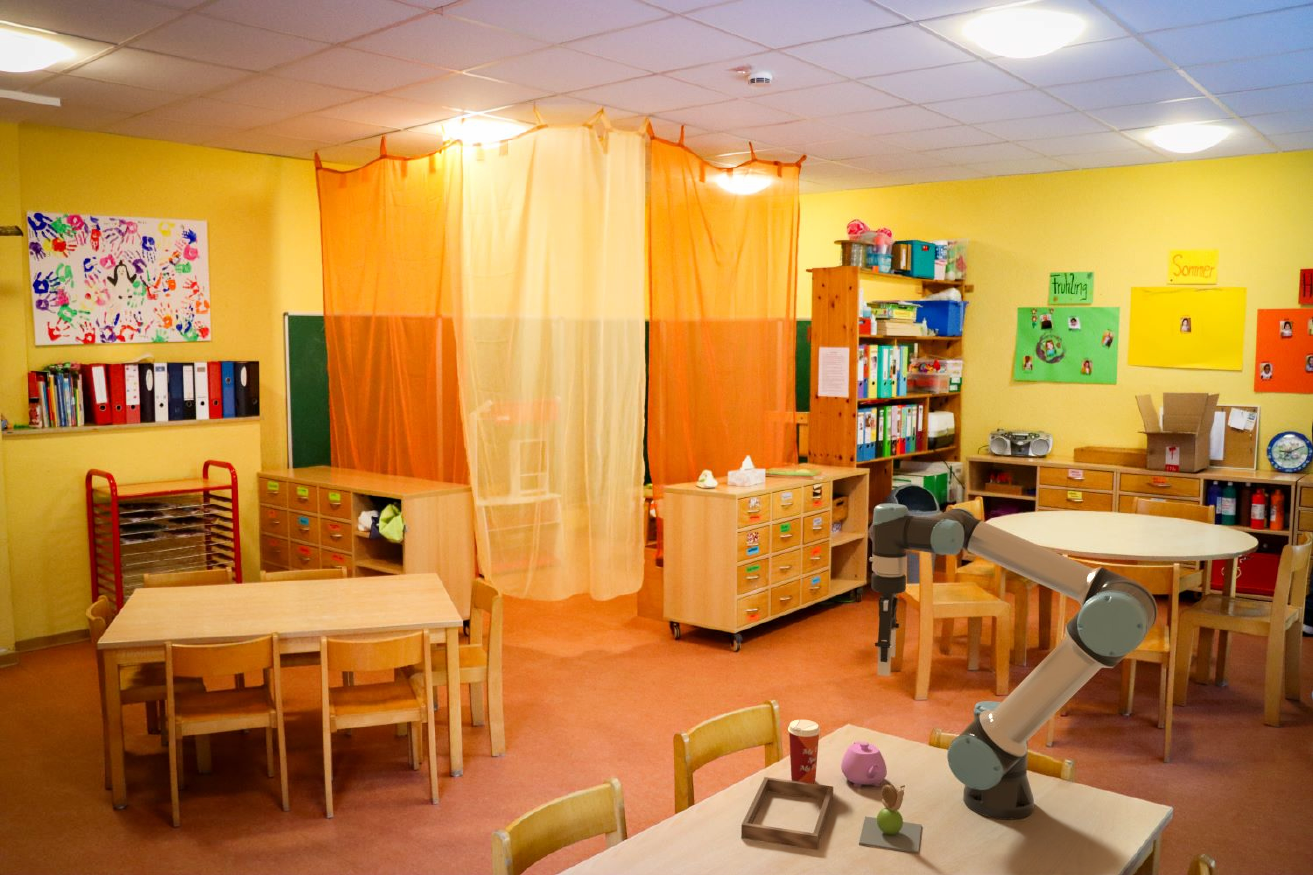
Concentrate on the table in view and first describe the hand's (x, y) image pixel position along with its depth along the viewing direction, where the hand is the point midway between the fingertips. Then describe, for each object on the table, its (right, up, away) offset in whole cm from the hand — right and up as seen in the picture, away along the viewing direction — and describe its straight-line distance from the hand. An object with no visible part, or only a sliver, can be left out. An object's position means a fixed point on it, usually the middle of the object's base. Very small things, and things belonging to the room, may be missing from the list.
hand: (886, 665), depth 225 cm
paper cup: (-17, -31, +13) cm, 37 cm away
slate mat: (-2, -33, -13) cm, 36 cm away
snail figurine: (-2, -33, -13) cm, 36 cm away
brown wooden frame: (-23, -32, -5) cm, 40 cm away
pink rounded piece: (-2, -31, +12) cm, 33 cm away
